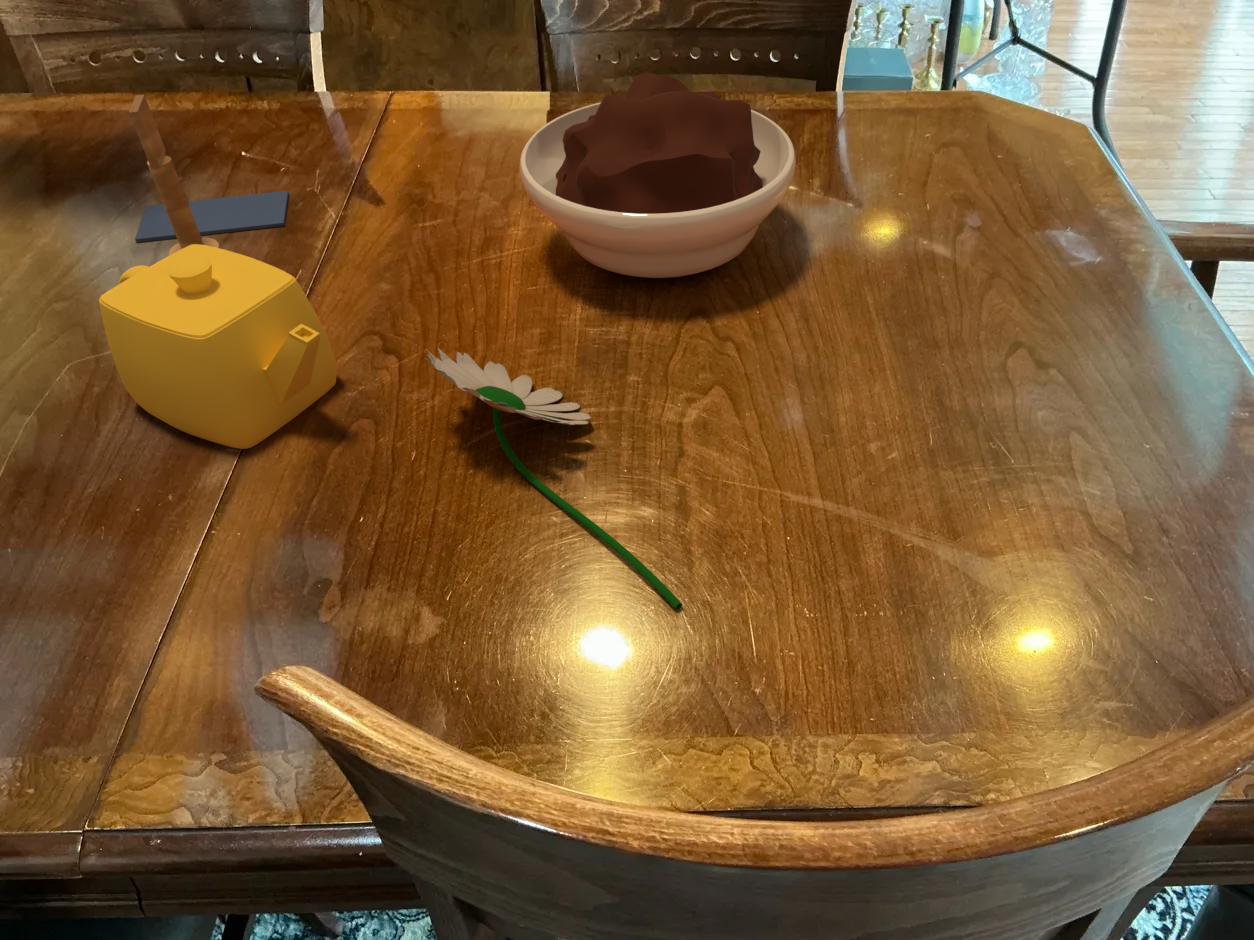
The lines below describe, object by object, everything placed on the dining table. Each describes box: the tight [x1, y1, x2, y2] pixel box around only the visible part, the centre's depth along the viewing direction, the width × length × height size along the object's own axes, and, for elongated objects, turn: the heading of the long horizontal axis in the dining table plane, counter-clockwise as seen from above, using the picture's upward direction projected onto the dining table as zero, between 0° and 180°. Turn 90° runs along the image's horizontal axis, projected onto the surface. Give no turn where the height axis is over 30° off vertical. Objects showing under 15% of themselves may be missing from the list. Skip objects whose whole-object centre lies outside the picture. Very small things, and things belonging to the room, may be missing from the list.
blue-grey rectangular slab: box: [134, 190, 290, 243], centre depth 108 cm, size 14×7×1 cm, turn 102°
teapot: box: [98, 244, 338, 450], centre depth 83 cm, size 20×12×12 cm, turn 61°
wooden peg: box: [128, 94, 221, 256], centre depth 95 cm, size 4×4×16 cm
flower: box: [423, 347, 683, 611], centre depth 77 cm, size 13×6×30 cm
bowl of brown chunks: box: [518, 72, 797, 279], centre depth 98 cm, size 25×25×15 cm
